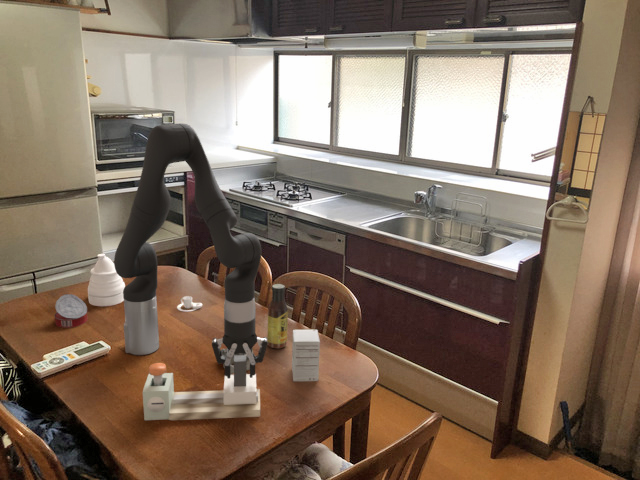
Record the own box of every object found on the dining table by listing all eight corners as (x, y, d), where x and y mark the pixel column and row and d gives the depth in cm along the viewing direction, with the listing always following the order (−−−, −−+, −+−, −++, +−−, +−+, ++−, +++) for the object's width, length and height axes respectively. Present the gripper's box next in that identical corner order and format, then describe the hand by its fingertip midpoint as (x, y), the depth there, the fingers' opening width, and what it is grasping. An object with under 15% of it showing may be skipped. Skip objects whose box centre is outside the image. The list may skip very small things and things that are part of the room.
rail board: (169, 420, 127) (168, 408, 126) (174, 398, 135) (174, 387, 134) (260, 416, 130) (260, 404, 129) (259, 395, 138) (259, 384, 137)
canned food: (83, 327, 181) (95, 301, 181) (80, 337, 172) (93, 310, 172) (49, 315, 177) (62, 289, 177) (44, 325, 168) (58, 298, 168)
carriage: (223, 408, 128) (222, 367, 125) (225, 390, 136) (224, 350, 133) (256, 407, 129) (256, 366, 126) (255, 388, 137) (256, 350, 134)
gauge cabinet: (144, 421, 126) (142, 393, 124) (150, 400, 134) (148, 373, 132) (169, 420, 127) (168, 392, 125) (174, 400, 135) (173, 372, 133)
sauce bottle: (284, 350, 162) (285, 291, 156) (264, 348, 163) (265, 289, 157) (289, 341, 168) (290, 283, 162) (270, 338, 169) (271, 281, 163)
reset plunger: (148, 394, 127) (147, 371, 125) (151, 384, 131) (150, 362, 129) (165, 393, 127) (164, 371, 126) (168, 384, 131) (167, 362, 129)
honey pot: (118, 307, 187) (114, 259, 182) (82, 305, 187) (77, 258, 182) (131, 293, 199) (127, 248, 194) (97, 291, 199) (93, 246, 194)
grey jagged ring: (254, 369, 151) (254, 357, 150) (230, 377, 147) (230, 364, 146) (237, 353, 159) (237, 341, 158) (214, 360, 155) (214, 348, 154)
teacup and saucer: (205, 307, 190) (205, 297, 189) (189, 315, 184) (189, 304, 183) (188, 301, 195) (188, 291, 193) (172, 308, 188) (171, 298, 187)
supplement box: (291, 367, 152) (292, 328, 149) (316, 367, 153) (318, 328, 149) (292, 382, 145) (293, 341, 142) (318, 381, 146) (320, 341, 142)
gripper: (208, 322, 121) (210, 385, 126) (270, 320, 123) (269, 383, 128) (210, 308, 128) (212, 369, 133) (269, 307, 130) (268, 367, 135)
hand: (240, 376), depth 131 cm, fingers open, 5 cm apart
